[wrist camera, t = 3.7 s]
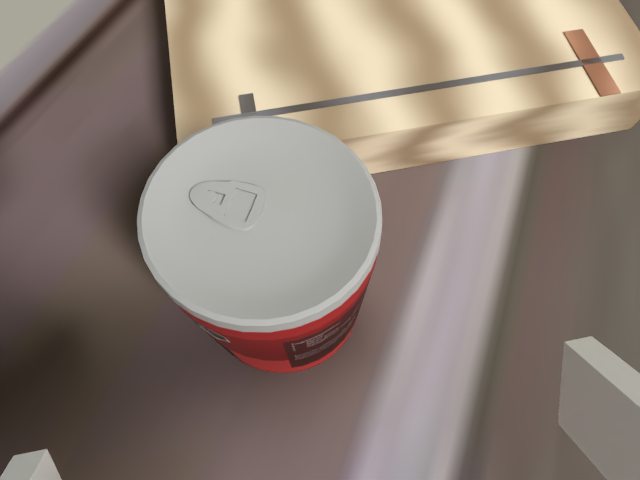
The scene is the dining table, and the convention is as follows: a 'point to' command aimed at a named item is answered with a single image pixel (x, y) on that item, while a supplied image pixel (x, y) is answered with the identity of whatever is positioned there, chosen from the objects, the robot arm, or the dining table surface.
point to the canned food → (264, 237)
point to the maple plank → (409, 71)
